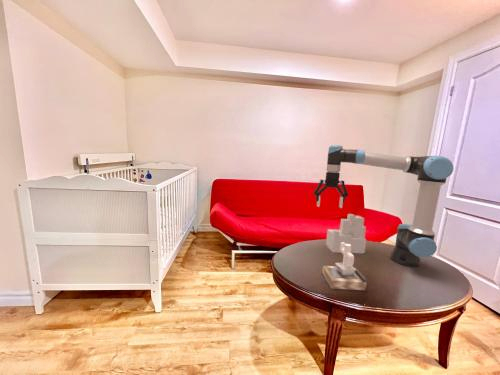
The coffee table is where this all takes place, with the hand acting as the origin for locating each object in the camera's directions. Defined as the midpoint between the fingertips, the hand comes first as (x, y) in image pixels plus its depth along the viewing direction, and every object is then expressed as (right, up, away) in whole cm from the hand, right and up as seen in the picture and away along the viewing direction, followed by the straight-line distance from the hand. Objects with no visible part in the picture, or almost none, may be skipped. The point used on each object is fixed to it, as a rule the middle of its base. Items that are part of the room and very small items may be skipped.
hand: (329, 207), depth 131 cm
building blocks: (+17, -31, +17) cm, 39 cm away
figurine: (-1, -31, -23) cm, 38 cm away
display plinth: (-2, -35, -22) cm, 42 cm away
